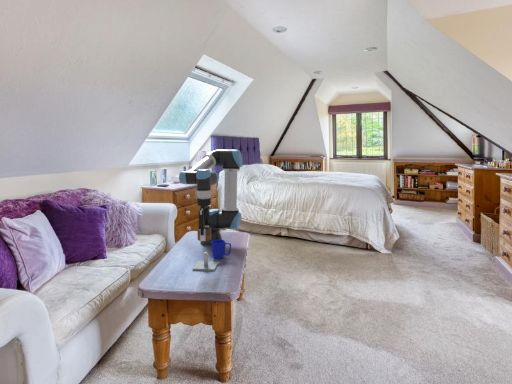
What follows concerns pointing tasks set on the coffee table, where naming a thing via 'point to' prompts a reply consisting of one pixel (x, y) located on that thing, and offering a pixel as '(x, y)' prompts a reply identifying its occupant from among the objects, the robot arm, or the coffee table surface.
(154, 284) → the coffee table surface
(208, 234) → the ring
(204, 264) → the square plate with peg
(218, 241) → the mug
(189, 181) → the robot arm
